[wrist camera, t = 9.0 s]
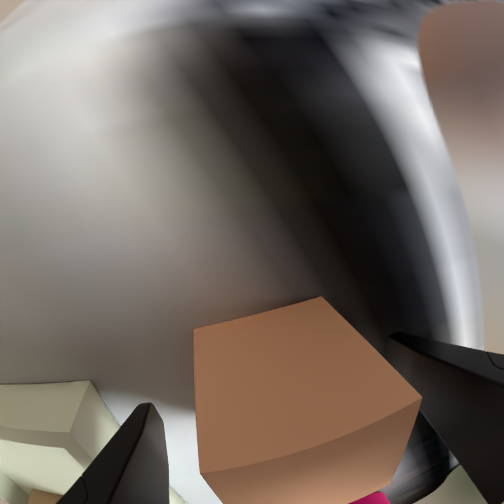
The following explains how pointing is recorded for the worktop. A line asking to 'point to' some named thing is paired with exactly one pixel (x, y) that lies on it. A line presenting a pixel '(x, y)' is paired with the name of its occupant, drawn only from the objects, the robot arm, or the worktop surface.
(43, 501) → the walnut block
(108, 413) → the tray
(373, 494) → the pepper mill
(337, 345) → the peach block
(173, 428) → the worktop surface
